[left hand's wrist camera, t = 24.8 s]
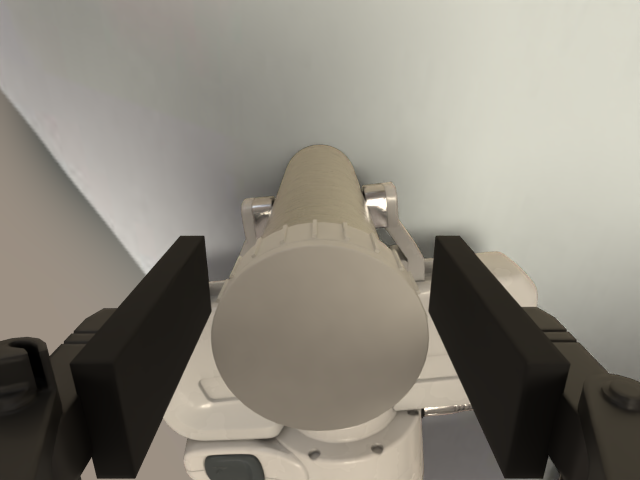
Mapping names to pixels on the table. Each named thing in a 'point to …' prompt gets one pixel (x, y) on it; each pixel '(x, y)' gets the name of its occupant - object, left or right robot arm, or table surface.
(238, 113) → the table surface
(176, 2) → the table surface
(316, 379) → the lid
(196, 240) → the left robot arm
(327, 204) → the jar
